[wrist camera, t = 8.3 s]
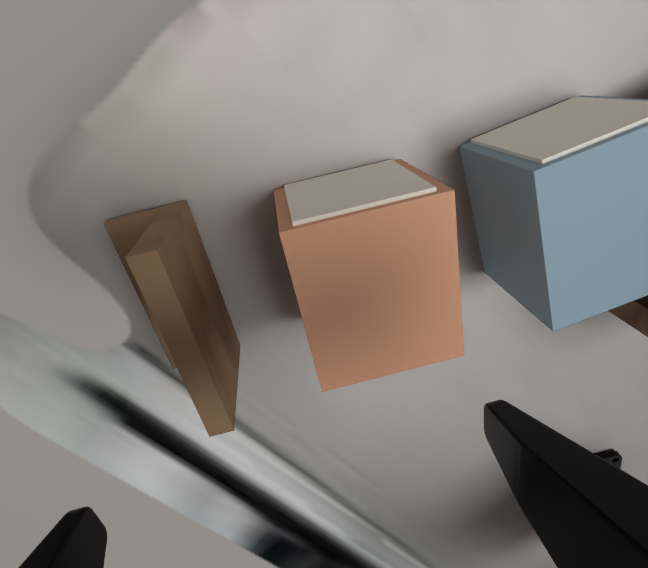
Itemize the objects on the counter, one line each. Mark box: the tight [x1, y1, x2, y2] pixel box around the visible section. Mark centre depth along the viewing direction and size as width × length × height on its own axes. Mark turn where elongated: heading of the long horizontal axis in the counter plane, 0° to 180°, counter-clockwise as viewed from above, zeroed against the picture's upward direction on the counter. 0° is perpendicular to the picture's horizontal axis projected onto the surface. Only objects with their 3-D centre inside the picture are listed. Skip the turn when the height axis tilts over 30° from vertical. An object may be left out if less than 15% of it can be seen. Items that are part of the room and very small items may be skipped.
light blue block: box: [459, 96, 648, 331], centre depth 18 cm, size 7×6×6 cm
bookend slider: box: [104, 200, 240, 437], centre depth 17 cm, size 8×4×6 cm, turn 12°
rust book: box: [274, 159, 464, 392], centre depth 18 cm, size 7×6×6 cm
